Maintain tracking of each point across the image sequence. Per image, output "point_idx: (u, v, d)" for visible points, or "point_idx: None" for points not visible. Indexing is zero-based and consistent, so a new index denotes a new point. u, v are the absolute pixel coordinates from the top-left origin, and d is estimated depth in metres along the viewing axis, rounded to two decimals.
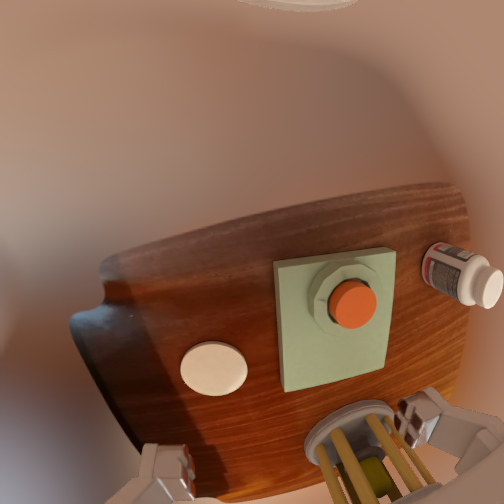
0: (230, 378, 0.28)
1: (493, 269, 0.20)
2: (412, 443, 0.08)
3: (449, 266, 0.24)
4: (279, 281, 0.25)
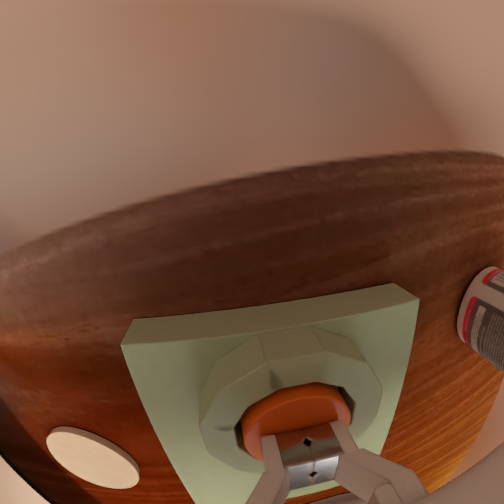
0: (117, 475, 0.13)
1: None
2: (311, 478, 0.07)
3: None
4: (130, 371, 0.10)
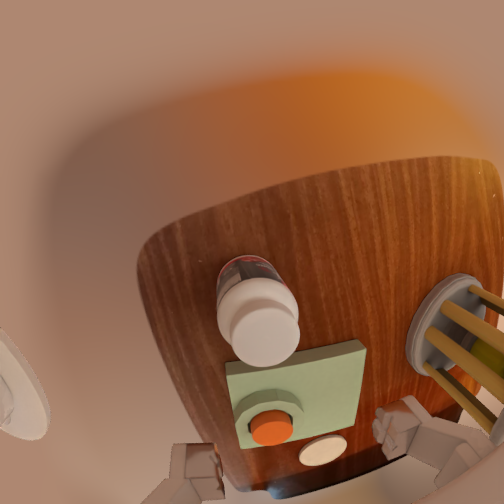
0: (332, 444, 0.32)
1: None
2: (389, 453, 0.07)
3: None
4: (251, 447, 0.28)
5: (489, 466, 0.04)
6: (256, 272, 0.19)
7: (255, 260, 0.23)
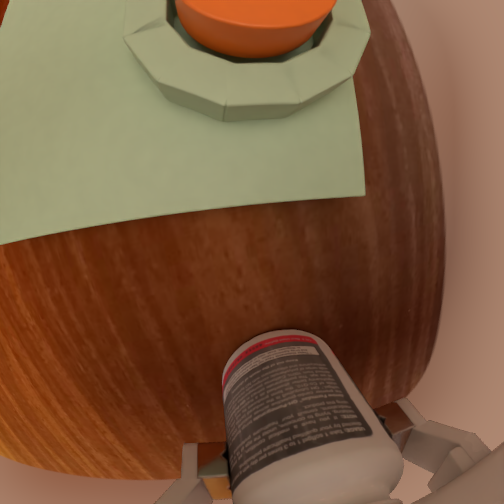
0: None
1: None
2: None
3: (346, 396, 0.08)
4: None
5: (489, 466, 0.04)
6: None
7: None
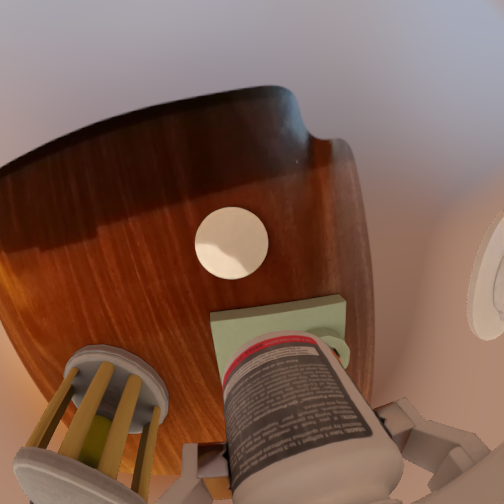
0: (221, 261, 0.28)
1: None
2: None
3: (346, 396, 0.08)
4: (335, 303, 0.28)
5: (489, 466, 0.04)
6: None
7: None
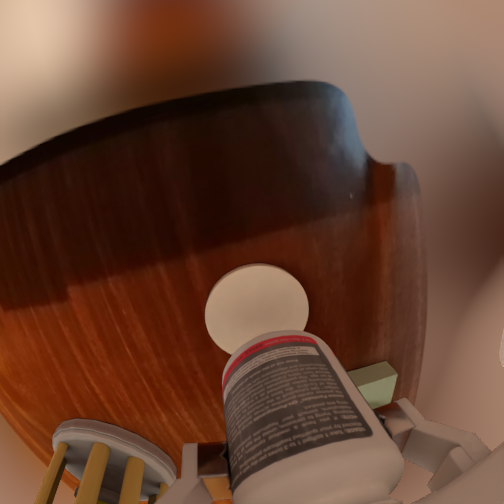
0: (243, 339, 0.19)
1: None
2: None
3: (346, 396, 0.08)
4: (385, 378, 0.20)
5: (489, 466, 0.04)
6: None
7: None
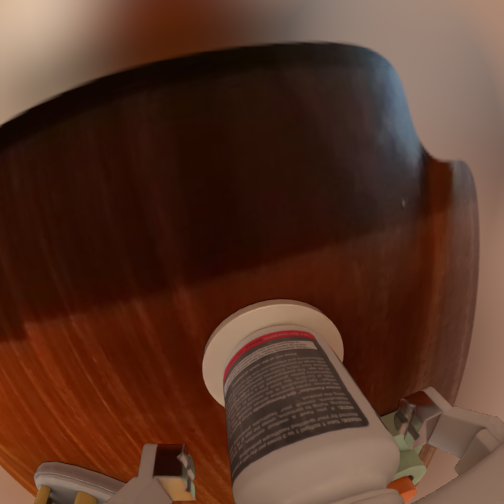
0: None
1: None
2: (412, 443, 0.08)
3: (343, 388, 0.08)
4: None
5: (489, 466, 0.04)
6: None
7: None
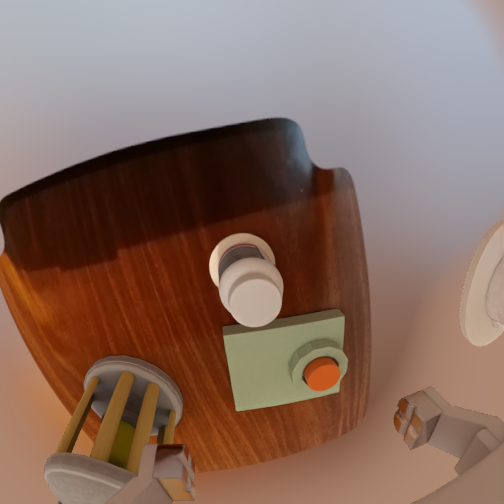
0: None
1: None
2: (412, 443, 0.08)
3: (260, 254, 0.25)
4: (335, 318, 0.31)
5: (489, 466, 0.04)
6: None
7: None
